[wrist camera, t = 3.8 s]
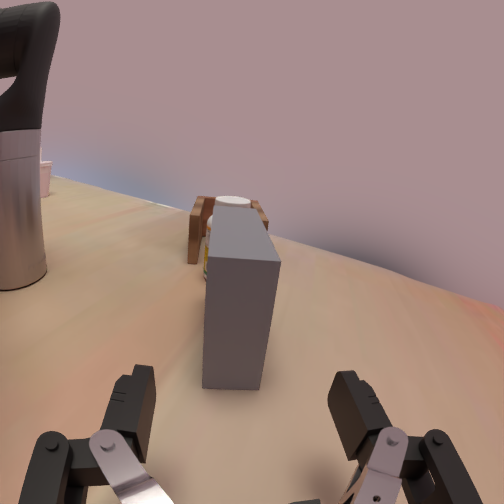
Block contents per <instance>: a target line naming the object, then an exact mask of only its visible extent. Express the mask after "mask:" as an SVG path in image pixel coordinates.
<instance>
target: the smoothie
mask: <svg viewBox="0 0 504 504" xmlns="http://www.w3.org/2000/svg"><path fill="white" fill-rule="evenodd" d="M41 154H42V147H40V198H43V197H47V196H49V184H50V174H51V166H52V161H44V162H43V161H42V162H41Z"/></svg>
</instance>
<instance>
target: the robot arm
mask: <svg viewBox="0 0 504 504" xmlns="http://www.w3.org/2000/svg"><path fill="white" fill-rule="evenodd" d="M59 26H60V11H59V8H58V6H57V4H55V3H54V2H39V3H32V4H25V5H20V6H14V7H9V8H4V9H0V79H2V78H8V77H14V76H17V77H16V79H15V81H14V83H13V84H12V85H11V87H10V88H9V89H8V90H7V91H5V92H4V93H3V94H2V95H1V96H0V289H2V290H7V289H15V288H20V287H23V286H26V285H29V284H31V283H33V282H35V281H37V280H38V279H40V278H41V277H42V276H43V275H44V274H45V273H46V271H47V264H46V256H45V249H44V240H43V229H42V216H41V199H40V141H41V124H42V113H43V107H44V99H45V92H46V85H47V80H48V74H49V69H50V65H51V61H52V57H53V53H54V50H55V45H56V41H57V37H58V32H59ZM155 403H156V387H155V379H154V370H153V366H146V365H137V364H136V365H135V366H134V369H133V373H132V376H130V375H122V376H121V377H120V378H119V379H118V380H117V381H116V383H115V386H114V389H113V393H112V394H111V398H110V401H109V404H108V407H107V410H106V413H105V416H104V419H103V423H102V426H101V428H100V430H99V431H97V432H96V433H94V434H93V435H92V436H91V437H90V438H86V439H73V440H67V438H66V437H65V436H64V435H63V434H61V433H59V432H55V431H49V432H45V433H43V434H42V435H40V436H39V438H38V439H37V442H36V445H35V447H34V450H33V454H32V457H31V460H30V463H29V466H28V470H27V473H26V476H25V480H24V483H23V487H22V491H21V495H20V499H19V503H18V504H86V499H87V492H88V486H101V485H110V486H111V487H112V489H113V490H114V492H115V494H116V495H117V497H118V498H119V500H120V501H121V503H122V504H174V503H173V502H172V501H171V499H170V498H169V497H168V496H167V494H166V493H165V492H164V491H163V489H162V488H161V487H160V486H159V484H158V483H157V482H156V481H155V479H154V478H153V477H150V476H149V475H148V474H147V472H146V471H145V469H144V468H143V467H142V465H141V464H140V463H146V457H147V450H148V444H149V438H150V432H151V426H152V420H153V414H154V409H155ZM328 407H329V409H330V412H331V415H332V418H333V420H334V423H335V426H336V428H337V431H338V434H339V437H340V439H341V442H342V445H343V448H344V450H345V453H346V456H347V459H348V461H351V460H356V459H357V460H358V463H359V464H358V465H357V467H356V469H355V471H354V474H353V476H352V478H351V480H350V482H349V484H348V486H347V488H346V490H345V492H344V494H343V496H342V498H341V499H340V501H339V502H338V504H395V502H396V499H397V496H398V493H399V490H400V487H401V485H402V487H403V490H404V493H405V496H406V498H407V501H408V504H483V503H482V501H481V499H480V496H479V494H478V492H477V490H476V488H475V486H474V484H473V482H472V480H471V478H470V476H469V474H468V472H467V470H466V468H465V466H464V464H463V462H462V460H461V459H460V457H459V455H458V453H457V451H456V449H455V447H454V445H453V444H452V442H451V440H450V438H449V436H448V435H447V434H446V433H445V432H443V431H441V430H438V429H433V430H430V431H428V432H427V433H426V434H425V436H424V437H414V436H407V435H406V433H405V432H404V431H402V430H401V429H399V428H396V427H393V426H392V424H391V422H390V420H389V419H388V417H387V415H386V413H385V411H384V409H383V407H382V405H381V403H379V400H378V398H377V397H376V394H375V392H374V390H373V389H372V387H371V386H370V385H369V384H368V383H366V382H365V381H364V380H361V381H360V380H359V378H358V376H357V374H356V372H355V371H353V370H351V371H338V372H337V373H336V375H335V378H334V381H333V383H332V386H331V388H330V391H329V394H328ZM429 471H430V473H431V475H430V473H429ZM431 476H432V477H431ZM432 478H433V480H434V482H435V484H434V482H433V480H432ZM290 504H321V503H320V499H314V500H307V501H299V502H293V503H290Z"/></svg>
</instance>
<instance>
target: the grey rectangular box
mask: <svg viewBox="0 0 504 504" xmlns="http://www.w3.org/2000/svg"><path fill="white" fill-rule="evenodd" d="M280 265H281V260H280V258H279V256H278V254H277V252H276V250H275V247H274V245H273V243H272V241H271V239H270V237H269V235H268V233H267V230H266V228H265V226H264V224H263V222H262V220H261V218H260V216H259V214H258V212H257V209H252V208H240V207H228V206H216V205H214V208H213V216H212V224H211V233H210V241H209V250H208V261H207V278H206V296H205V318H204V343H203V379H202V388H206V389H228V390H259V387H260V382H261V376H262V371H263V365H264V360H265V354H266V349H267V343H268V337H269V332H270V326H271V320H272V314H273V308H274V302H275V296H276V290H277V284H278V278H279V271H280Z"/></svg>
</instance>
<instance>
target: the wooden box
mask: <svg viewBox="0 0 504 504" xmlns="http://www.w3.org/2000/svg"><path fill="white" fill-rule="evenodd" d="M215 199H216V197H205V196H198V197H197V199H196V202H195V204H194V207H193V209H192V211H191V214H190V222H189V242H188V263H189V264H197V260H198V255H199V249H200V244H201V239H202V236H206V229H207V221H208V219H209V217H210V216H212V215H213V208H214V205H215ZM250 201H251V207H250V208H252V209H257V212H258V214H259V216H260V218H261V220H262V222H263V224H264V226H265V228H266V230H267V231H268V223H269V221H268V219H267V217H266V215H265V214H264V212H263V210H262V208H261V206H260V205H259V203H258V201H253V200H250Z"/></svg>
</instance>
